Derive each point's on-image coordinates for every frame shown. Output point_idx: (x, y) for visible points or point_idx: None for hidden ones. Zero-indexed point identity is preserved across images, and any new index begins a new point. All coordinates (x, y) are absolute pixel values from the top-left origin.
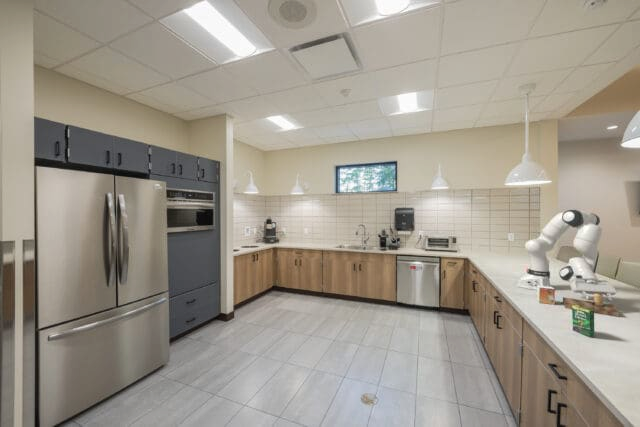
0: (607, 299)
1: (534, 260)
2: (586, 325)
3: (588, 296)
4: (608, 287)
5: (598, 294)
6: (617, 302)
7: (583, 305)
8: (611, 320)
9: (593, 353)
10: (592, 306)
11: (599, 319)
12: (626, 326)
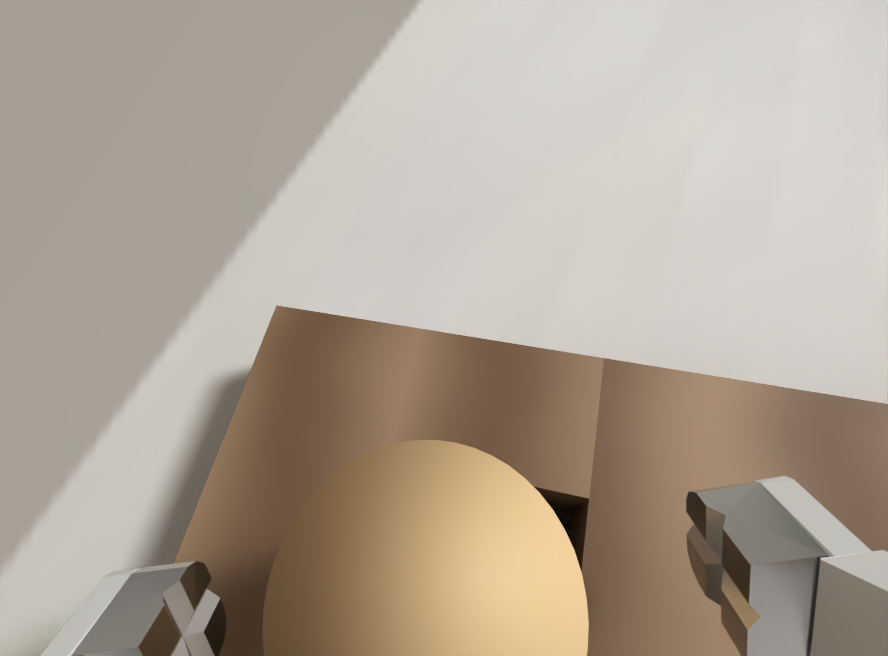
0: (195, 596)
1: None
2: None
3: (794, 526)
4: None
5: (409, 622)
6: None
7: (803, 391)
8: (487, 174)
9: None
10: (635, 391)
11: (614, 146)
12: (425, 69)
